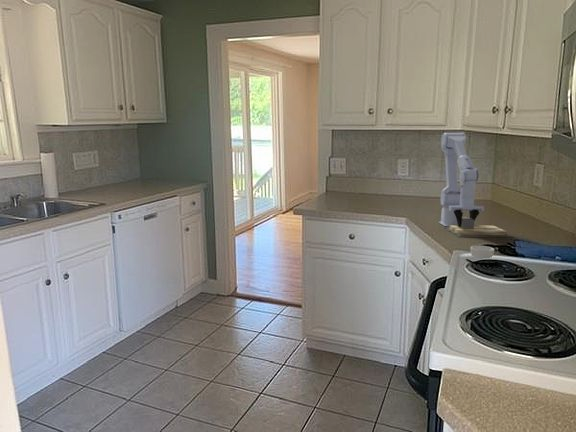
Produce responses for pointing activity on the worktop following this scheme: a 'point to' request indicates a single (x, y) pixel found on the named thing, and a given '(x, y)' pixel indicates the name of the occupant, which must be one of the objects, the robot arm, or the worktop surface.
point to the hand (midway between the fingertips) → (465, 226)
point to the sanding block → (467, 223)
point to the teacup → (482, 251)
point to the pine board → (478, 231)
